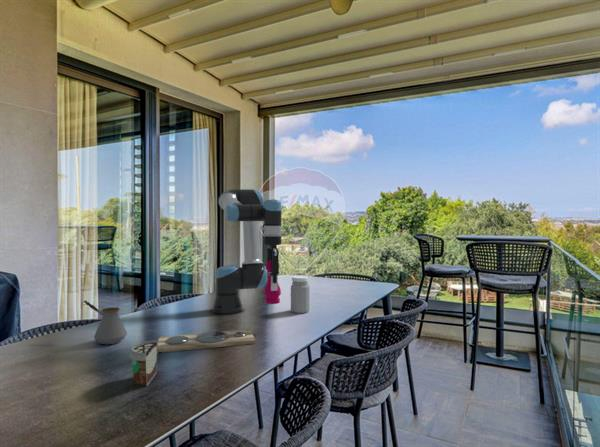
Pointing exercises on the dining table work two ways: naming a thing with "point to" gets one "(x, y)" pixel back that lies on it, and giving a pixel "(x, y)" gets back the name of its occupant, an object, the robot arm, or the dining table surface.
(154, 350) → the white and brown wedge
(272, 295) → the pepper mill
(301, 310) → the jar
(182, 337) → the flange
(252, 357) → the dining table surface
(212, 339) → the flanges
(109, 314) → the coffee pot
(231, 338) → the tan flat board
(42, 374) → the dining table surface
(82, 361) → the dining table surface
